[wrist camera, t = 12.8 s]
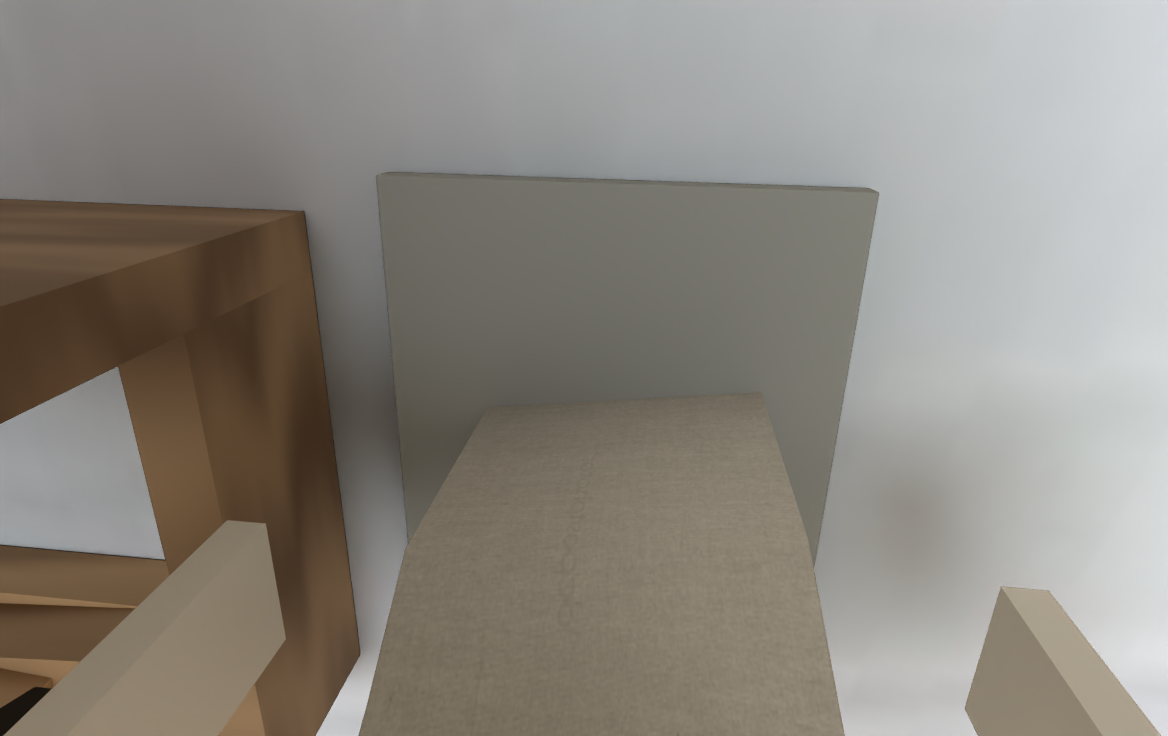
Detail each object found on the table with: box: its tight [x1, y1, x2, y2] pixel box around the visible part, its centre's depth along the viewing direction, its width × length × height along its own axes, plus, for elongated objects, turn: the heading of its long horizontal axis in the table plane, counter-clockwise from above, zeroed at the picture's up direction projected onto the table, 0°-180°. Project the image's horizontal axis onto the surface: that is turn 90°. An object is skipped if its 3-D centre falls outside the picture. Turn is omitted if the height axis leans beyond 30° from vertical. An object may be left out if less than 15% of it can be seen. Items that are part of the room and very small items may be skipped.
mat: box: [376, 172, 879, 568], centre depth 18 cm, size 16×11×1 cm
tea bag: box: [359, 392, 845, 736], centre depth 13 cm, size 4×7×10 cm, turn 96°
